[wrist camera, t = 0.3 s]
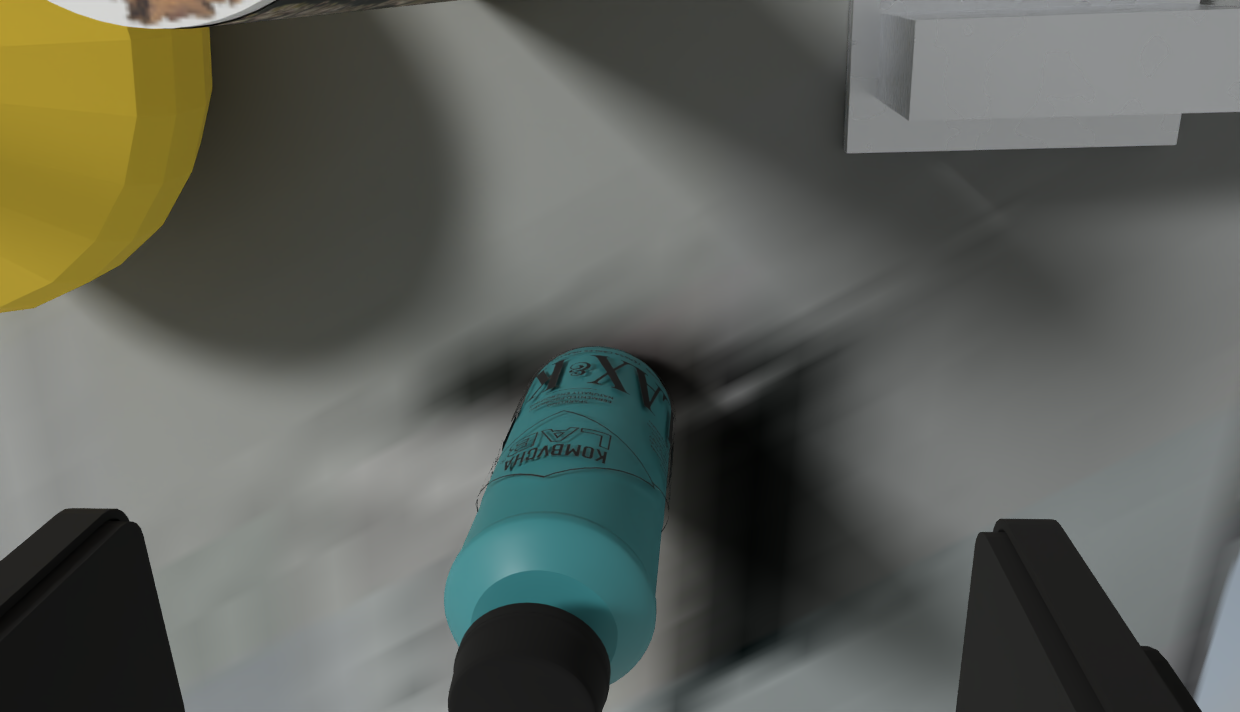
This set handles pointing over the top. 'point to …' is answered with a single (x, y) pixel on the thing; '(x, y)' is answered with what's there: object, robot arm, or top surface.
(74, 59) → the vase
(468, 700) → the beverage bottle
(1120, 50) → the fulcrum
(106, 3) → the brown bark cylinder
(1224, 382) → the top surface
